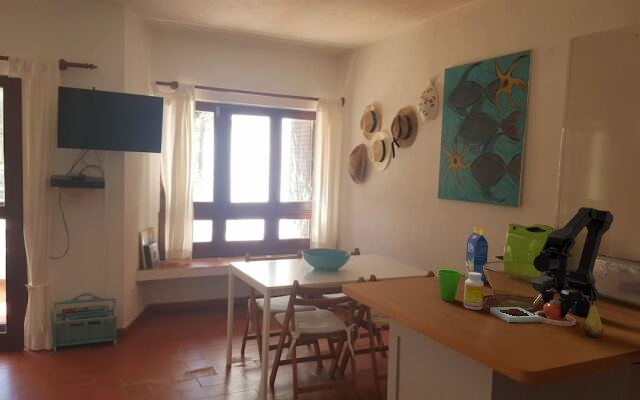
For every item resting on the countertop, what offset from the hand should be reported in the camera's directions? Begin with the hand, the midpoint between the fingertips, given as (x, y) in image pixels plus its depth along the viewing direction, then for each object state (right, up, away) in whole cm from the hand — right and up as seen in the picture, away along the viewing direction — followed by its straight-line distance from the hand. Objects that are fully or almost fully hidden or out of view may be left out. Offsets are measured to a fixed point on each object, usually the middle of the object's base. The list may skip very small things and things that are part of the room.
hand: (554, 314), depth 166 cm
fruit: (+4, -3, -16) cm, 17 cm away
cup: (-31, 0, +22) cm, 38 cm away
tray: (-14, -1, +1) cm, 14 cm away
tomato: (0, -2, 0) cm, 2 cm away
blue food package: (-8, +1, +60) cm, 60 cm away
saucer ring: (0, -2, 0) cm, 2 cm away
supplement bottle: (-25, 0, +11) cm, 27 cm away
